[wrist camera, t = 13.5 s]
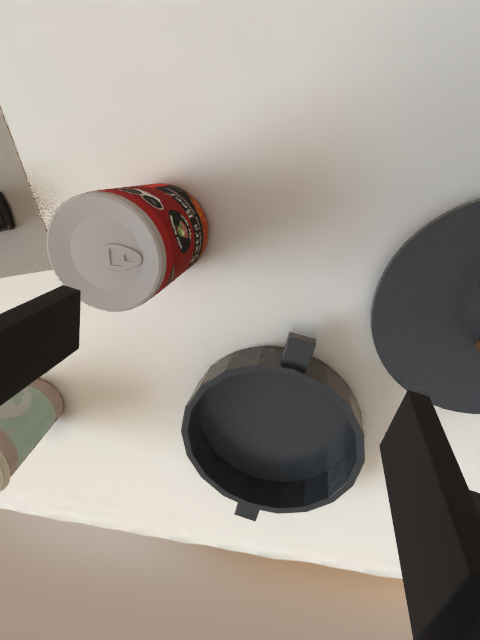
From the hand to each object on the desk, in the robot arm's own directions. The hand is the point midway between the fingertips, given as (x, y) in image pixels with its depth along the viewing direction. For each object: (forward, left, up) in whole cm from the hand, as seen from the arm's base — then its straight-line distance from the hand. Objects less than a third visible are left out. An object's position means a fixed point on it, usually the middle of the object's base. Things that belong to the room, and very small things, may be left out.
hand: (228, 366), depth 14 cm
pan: (-4, +17, -19) cm, 26 cm away
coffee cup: (+23, +24, -20) cm, 39 cm away
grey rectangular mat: (+35, +5, -20) cm, 41 cm away
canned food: (+10, 0, -20) cm, 22 cm away
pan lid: (-18, 0, -19) cm, 26 cm away
